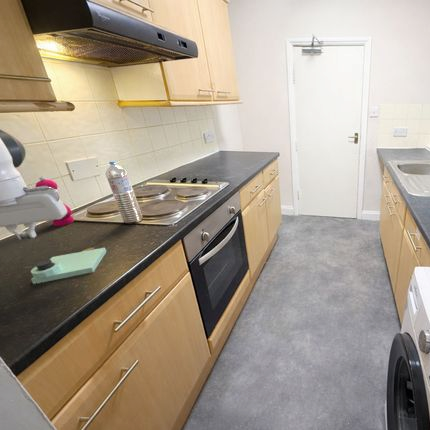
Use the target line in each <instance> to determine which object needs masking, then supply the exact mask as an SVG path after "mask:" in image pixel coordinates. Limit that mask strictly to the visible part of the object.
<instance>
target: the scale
mask: <svg viewBox="0 0 430 430" xmlns="http://www.w3.org/2000/svg"><path fill="white" fill-rule="evenodd" d="M107 252H108V251H107V249H106V248H105V247H101V248H94V249H89V250H84V251H79V252H72V253H67V254H61V255H56V256H52V257H50V259H49V260H51V261H52V263H53V265H54V266H53V267H51V268H49V269H46V270H43V271H39V270H38V268H37V267H36V266H34V267H33V268H31V270H30V273H31V275H32V278H31V279H30V281H31V282H32V284H33V285H37V284H41V282H42V283H46V282H51V281H55V280H61V279H62V280H63V279H66V278H71V277H77V276H82V275H85V274H86V275H87V274H91V273H94V272H95V271H96V270H97V268H98V266H99V264H101V261H102V260H103V259H104V256H105V255H106V254H107ZM36 283H37V284H36Z"/></svg>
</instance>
